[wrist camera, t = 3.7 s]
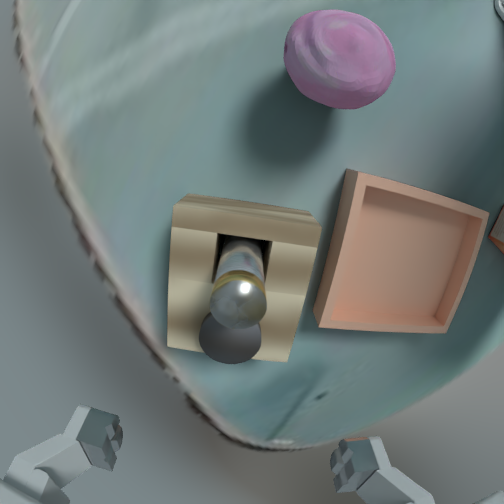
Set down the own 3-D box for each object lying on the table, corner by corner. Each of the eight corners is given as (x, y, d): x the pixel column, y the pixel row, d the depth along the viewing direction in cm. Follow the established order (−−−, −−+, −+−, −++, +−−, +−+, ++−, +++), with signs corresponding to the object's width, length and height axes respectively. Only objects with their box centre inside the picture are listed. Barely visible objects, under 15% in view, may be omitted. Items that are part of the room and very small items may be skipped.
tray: (346, 168, 28) (358, 171, 25) (472, 205, 29) (489, 212, 26) (312, 310, 33) (318, 327, 30) (433, 319, 34) (445, 333, 31)
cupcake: (358, 39, 23) (400, 4, 14) (367, 116, 26) (418, 108, 17) (272, 36, 23) (282, -10, 14) (280, 116, 26) (296, 102, 17)
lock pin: (227, 221, 30) (212, 276, 17) (262, 226, 30) (271, 284, 18) (223, 254, 31) (207, 325, 19) (257, 258, 31) (261, 332, 19)
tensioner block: (188, 193, 29) (168, 209, 22) (308, 211, 29) (326, 232, 22) (179, 315, 33) (164, 355, 26) (281, 328, 34) (288, 371, 27)
